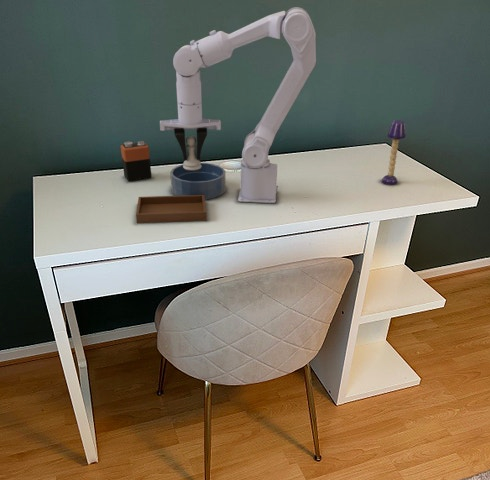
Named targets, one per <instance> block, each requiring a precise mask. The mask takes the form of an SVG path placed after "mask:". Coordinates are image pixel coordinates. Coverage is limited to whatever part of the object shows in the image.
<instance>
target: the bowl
mask: <svg viewBox="0 0 490 480" xmlns="http://www.w3.org/2000/svg"><path fill="white" fill-rule="evenodd" d="M183 165H184V163H183V164H180V165H177V166H175V167H173V168H172V169H171V170H170V175H169V176H170V188H171V192H172V194H173V195H174V196H183V195H204V196H205V200H209V199H214V198H217V197H221V196H222V195H223V194H224V193H225V192H226V188H227V187H226V186H227V184H226V183H227V182H226V179H227V178H226V174H227V173H226V170H225V168H224V167H222V166H220V165H219V164H218V165H217V164H215V163H209V162H201V166H202V167H201V168H200V169H198V170H193V171H191V170H186V169H184V168H183Z"/></svg>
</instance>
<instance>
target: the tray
mask: <svg viewBox="0 0 490 480" xmlns="http://www.w3.org/2000/svg"><path fill="white" fill-rule="evenodd" d="M207 217H208V216H207V205H206V199H205V196H204V195H183V196H176V195H155V196H154V195H153V196H138V199H137V205H136V212H135V219H136V223H137V224H151V223H153V224H154V223H173V222H174V223H177V222H179V223H180V222H181V223H182V222H201V221H202V222H205V221H207Z"/></svg>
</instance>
